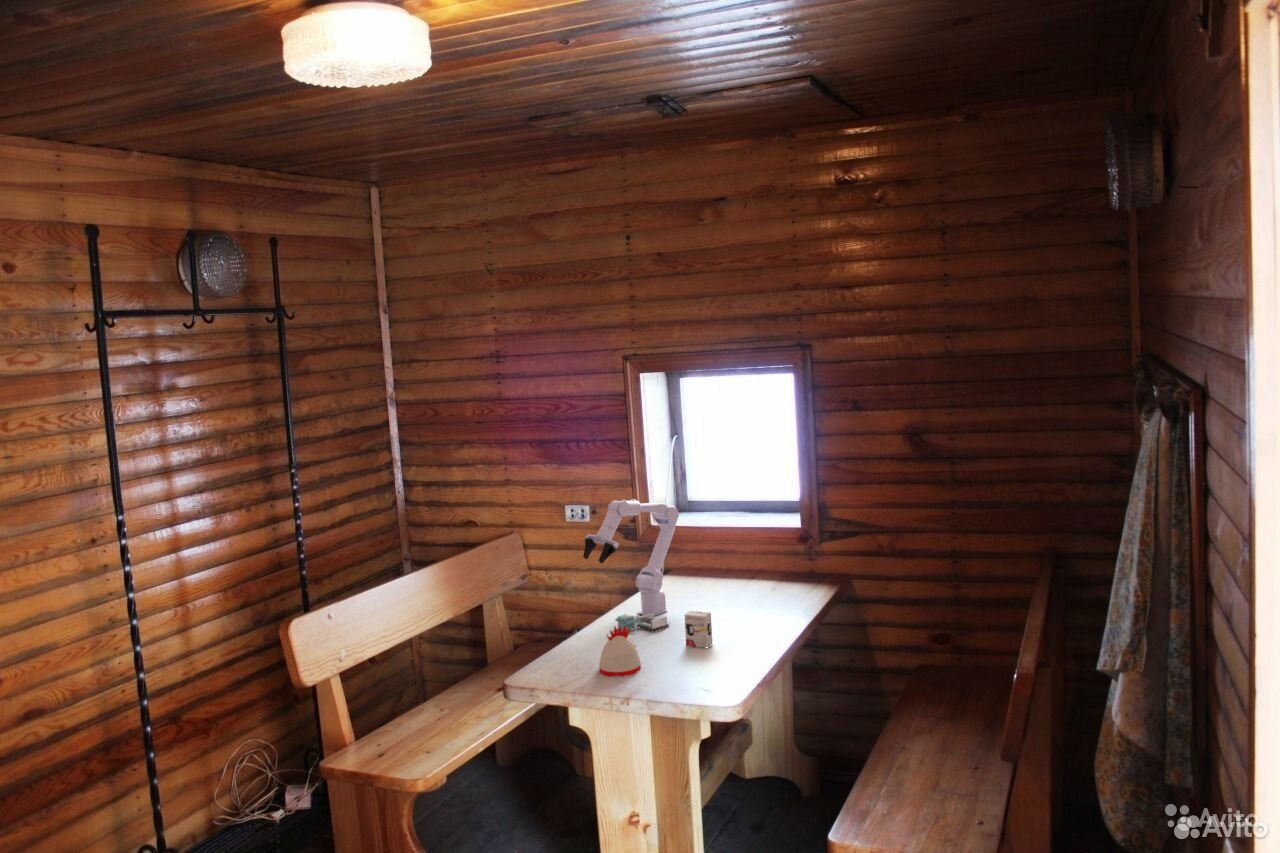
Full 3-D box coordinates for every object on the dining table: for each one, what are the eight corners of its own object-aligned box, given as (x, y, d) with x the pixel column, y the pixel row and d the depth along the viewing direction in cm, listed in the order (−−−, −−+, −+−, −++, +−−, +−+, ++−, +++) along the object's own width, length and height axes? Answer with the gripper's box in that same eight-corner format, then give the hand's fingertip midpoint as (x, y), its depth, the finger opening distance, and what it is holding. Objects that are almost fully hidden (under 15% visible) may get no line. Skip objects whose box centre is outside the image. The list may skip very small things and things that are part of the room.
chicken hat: (645, 672, 337) (642, 628, 336) (605, 679, 333) (602, 634, 332) (634, 660, 350) (631, 617, 349) (595, 666, 347) (592, 623, 345)
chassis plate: (653, 622, 393) (652, 612, 393) (668, 626, 386) (667, 616, 386) (637, 627, 388) (636, 617, 388) (652, 632, 381) (651, 621, 381)
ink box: (685, 646, 361) (683, 614, 360) (691, 642, 366) (689, 610, 364) (707, 648, 357) (705, 616, 356) (713, 644, 362) (711, 612, 360)
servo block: (624, 626, 391) (623, 611, 390) (637, 630, 385) (636, 615, 384) (615, 628, 389) (614, 614, 388) (628, 632, 382) (627, 618, 382)
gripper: (588, 520, 390) (572, 551, 385) (618, 527, 382) (602, 559, 377) (597, 528, 395) (581, 559, 391) (626, 536, 387) (611, 568, 382)
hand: (592, 560), depth 384 cm, fingers open, 7 cm apart
